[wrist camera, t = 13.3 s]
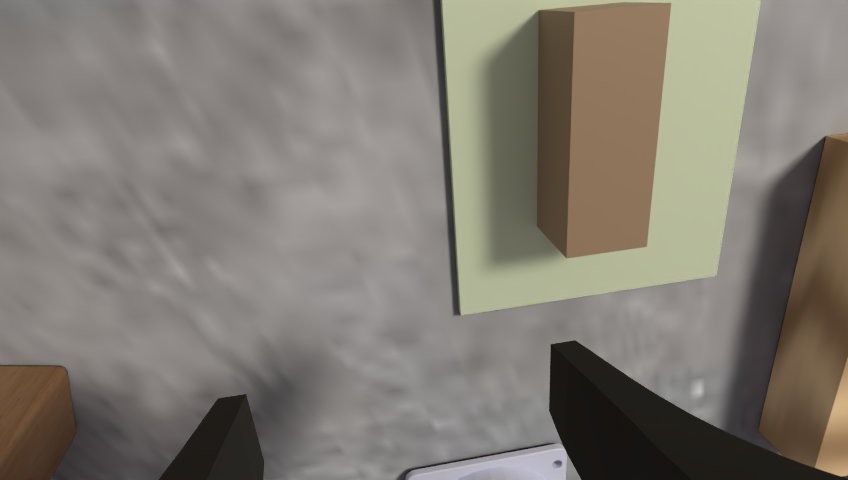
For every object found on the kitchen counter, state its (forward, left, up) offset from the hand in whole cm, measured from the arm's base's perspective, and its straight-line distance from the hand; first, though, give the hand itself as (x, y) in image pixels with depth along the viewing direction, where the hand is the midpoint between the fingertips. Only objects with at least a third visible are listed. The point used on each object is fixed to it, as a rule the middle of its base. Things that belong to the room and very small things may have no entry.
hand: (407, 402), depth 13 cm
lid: (+4, -9, -10) cm, 14 cm away
